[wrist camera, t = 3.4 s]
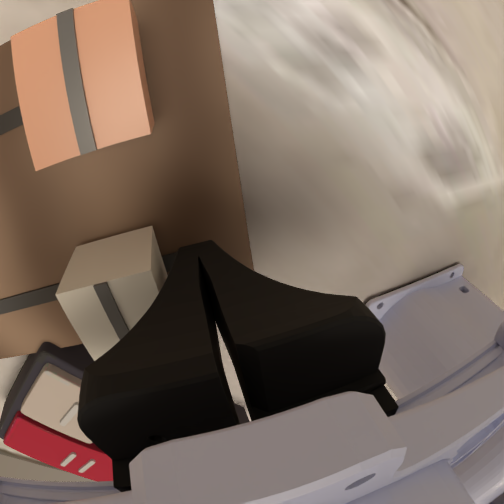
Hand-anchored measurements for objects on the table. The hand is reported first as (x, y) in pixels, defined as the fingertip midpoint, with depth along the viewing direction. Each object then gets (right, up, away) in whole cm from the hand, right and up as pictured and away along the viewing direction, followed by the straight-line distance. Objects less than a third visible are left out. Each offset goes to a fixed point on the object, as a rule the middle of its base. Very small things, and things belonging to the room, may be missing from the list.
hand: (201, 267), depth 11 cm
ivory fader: (-3, 0, 0) cm, 3 cm away
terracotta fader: (-3, +6, -3) cm, 7 cm away
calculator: (-7, -10, +7) cm, 15 cm away
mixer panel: (-6, +3, 0) cm, 7 cm away
